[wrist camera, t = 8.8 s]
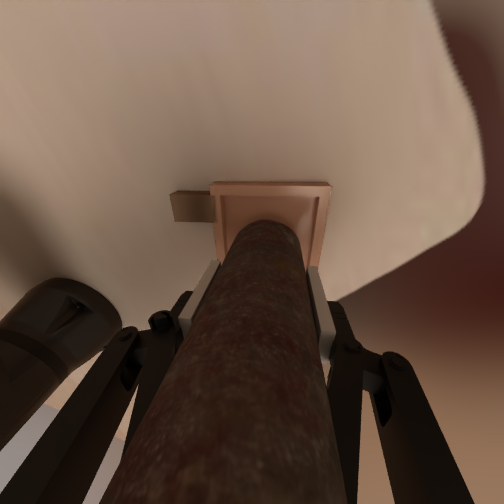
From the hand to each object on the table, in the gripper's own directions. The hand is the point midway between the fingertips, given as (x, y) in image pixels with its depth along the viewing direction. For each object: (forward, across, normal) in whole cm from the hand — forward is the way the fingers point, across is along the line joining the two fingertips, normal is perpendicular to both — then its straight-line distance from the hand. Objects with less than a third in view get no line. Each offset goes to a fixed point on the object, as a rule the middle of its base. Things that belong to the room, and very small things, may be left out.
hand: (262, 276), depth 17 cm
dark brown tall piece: (+6, 0, 0) cm, 6 cm away
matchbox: (+8, -8, +4) cm, 12 cm away
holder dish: (+8, 0, 0) cm, 8 cm away
